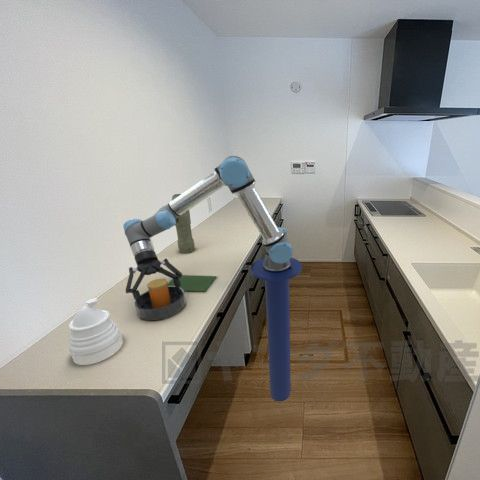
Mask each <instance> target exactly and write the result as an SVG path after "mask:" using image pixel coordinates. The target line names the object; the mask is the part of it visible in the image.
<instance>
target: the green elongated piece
mask: <svg viewBox="0 0 480 480" xmlns="http://www.w3.org/2000/svg"><path fill="white" fill-rule="evenodd" d="M181 194H182V193H175V194H173V195H172V197H171V201H173V200H174V199H175V198H177V197H178V196H180V195H181ZM175 220H176V221H175V222H176V224H175V225H174V226H175V230H176V235H177V248H178V252H179V253H180V254H182V255H183V254H184V255H185V254H191V253H193V252H195V250H196V249H195V240H194V238H193V233H192V226H191V223H192V221H191V220H192V219H191V213H190V210H188V211H187V212H185V213H184V214H182V215H181V216H180V217H178V218H177V219H175Z"/></svg>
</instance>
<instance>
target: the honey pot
mask: <svg viewBox="0 0 480 480" xmlns="http://www.w3.org/2000/svg"><path fill="white" fill-rule="evenodd" d="M85 303H86V305H83V306H81V307H80V308H79V309H78V310H77V311H76V313H75V314H74V317H73V319H72V320H71V321H70V322H69V323H68V329H69V330H70V332H69V335H68V337H69V339H68V344H67V348H68V352H69V354H70V356H71V358H72V361H73V363H74V364H76V365H79V366H89V365H93V364H98V363H100V362H103V361H104V360H107V359H109V358H110V357H112V356H113V355H115V354H117V352H118V351H119V350H120V349H121V348H122V346H123V345H124V340H123V336H122V333H121V330H120V327H119V326H118V325H117V324H116V323H115V322H114V320H113V319H112V318H110V317H111V313H110V311H108V310H105V309H99V308H97V307H95V306H96V305H97V304H98V298H96V297H95V298H90V299H88V300H86V301H85Z"/></svg>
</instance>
